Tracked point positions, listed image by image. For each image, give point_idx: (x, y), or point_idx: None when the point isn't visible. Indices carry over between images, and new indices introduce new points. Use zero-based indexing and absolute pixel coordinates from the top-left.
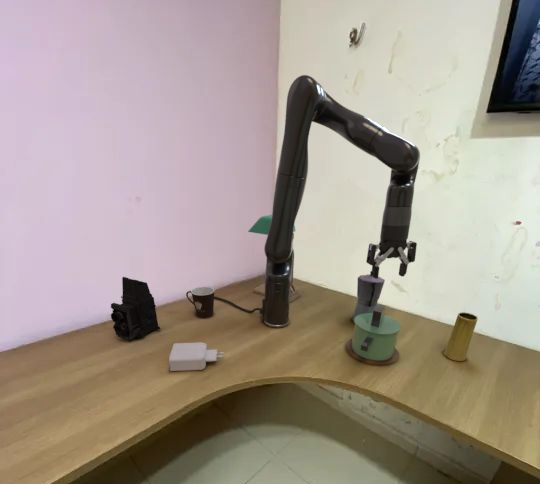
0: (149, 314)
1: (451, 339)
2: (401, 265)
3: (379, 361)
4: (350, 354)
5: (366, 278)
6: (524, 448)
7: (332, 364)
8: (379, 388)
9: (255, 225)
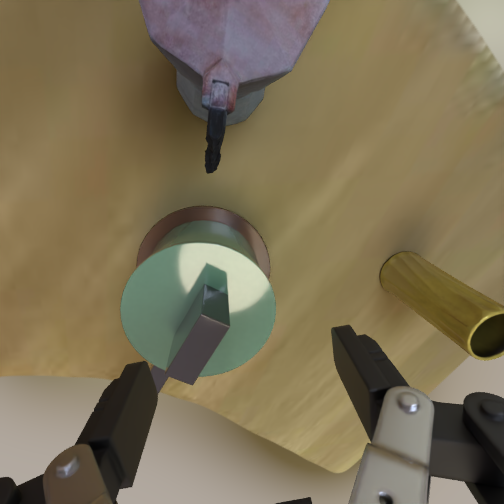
0: None
1: (410, 296)
2: (363, 398)
3: None
4: None
5: (181, 9)
6: (347, 461)
7: (97, 332)
8: (190, 389)
9: None
